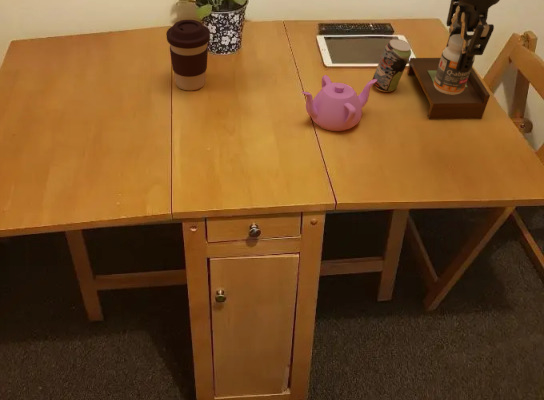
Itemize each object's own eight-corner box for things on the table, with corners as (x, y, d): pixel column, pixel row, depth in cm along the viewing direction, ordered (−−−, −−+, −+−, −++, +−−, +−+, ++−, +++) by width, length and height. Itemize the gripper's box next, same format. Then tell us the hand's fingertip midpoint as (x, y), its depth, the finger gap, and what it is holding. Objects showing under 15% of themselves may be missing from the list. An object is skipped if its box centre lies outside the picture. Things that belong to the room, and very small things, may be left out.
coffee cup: (215, 75, 144) (214, 18, 134) (205, 96, 137) (203, 38, 127) (176, 70, 146) (173, 14, 136) (164, 91, 139) (160, 33, 129)
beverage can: (370, 80, 143) (379, 35, 135) (400, 82, 142) (411, 37, 134) (371, 94, 138) (380, 48, 130) (403, 96, 138) (414, 50, 129)
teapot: (297, 125, 129) (301, 91, 123) (323, 96, 138) (327, 62, 132) (347, 142, 124) (354, 107, 118) (371, 111, 133) (378, 77, 127)
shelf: (481, 118, 131) (490, 95, 127) (428, 119, 131) (435, 95, 126) (454, 72, 146) (461, 50, 141) (406, 72, 145) (412, 50, 141)
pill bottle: (442, 97, 108) (456, 49, 101) (427, 81, 112) (440, 34, 106) (469, 94, 109) (486, 45, 102) (454, 78, 113) (469, 30, 106)
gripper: (525, -12, 90) (490, 82, 102) (490, -47, 101) (463, 42, 112) (477, -12, 90) (448, 83, 102) (448, -46, 101) (424, 43, 112)
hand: (456, 61), depth 107 cm, fingers closed on pill bottle, 5 cm apart
